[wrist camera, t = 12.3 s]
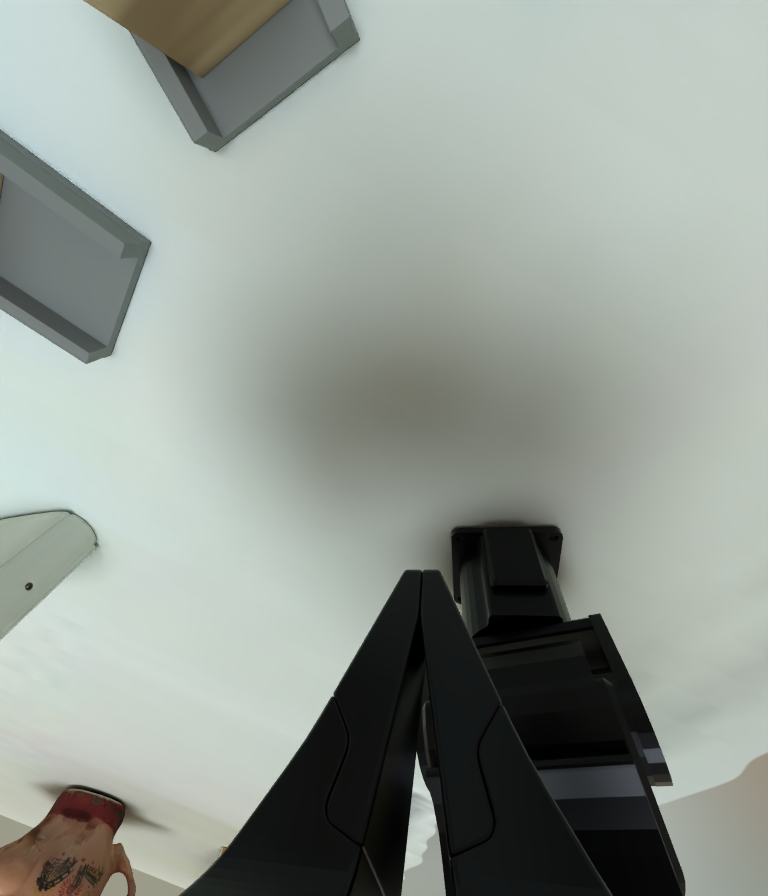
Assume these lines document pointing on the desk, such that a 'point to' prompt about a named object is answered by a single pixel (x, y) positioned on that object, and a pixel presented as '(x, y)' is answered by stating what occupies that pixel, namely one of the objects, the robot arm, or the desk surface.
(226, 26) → the oak key
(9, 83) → the desk surface
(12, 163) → the slate track
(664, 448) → the desk surface
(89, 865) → the decorative planter
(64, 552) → the photo printer
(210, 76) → the slate track
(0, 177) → the oak key
